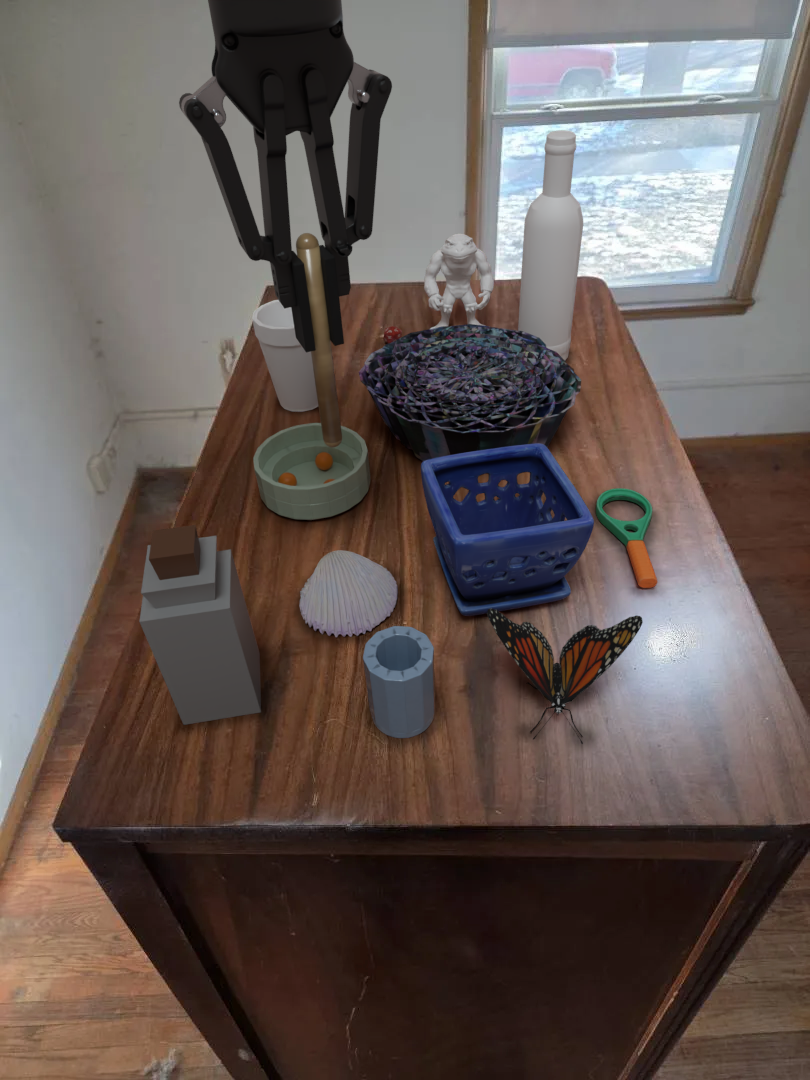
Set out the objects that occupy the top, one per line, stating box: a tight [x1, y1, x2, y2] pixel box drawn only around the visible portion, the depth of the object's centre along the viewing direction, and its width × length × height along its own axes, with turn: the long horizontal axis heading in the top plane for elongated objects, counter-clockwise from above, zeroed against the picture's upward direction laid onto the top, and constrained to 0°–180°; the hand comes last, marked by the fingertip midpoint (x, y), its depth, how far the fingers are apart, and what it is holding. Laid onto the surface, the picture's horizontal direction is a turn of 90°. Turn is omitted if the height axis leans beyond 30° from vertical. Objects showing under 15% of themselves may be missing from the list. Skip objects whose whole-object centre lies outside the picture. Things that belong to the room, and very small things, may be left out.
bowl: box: [252, 422, 371, 521], centre depth 87 cm, size 13×13×5 cm
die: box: [382, 325, 403, 344], centre depth 114 cm, size 3×3×3 cm
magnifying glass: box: [595, 487, 659, 589], centre depth 79 cm, size 15×6×2 cm, turn 179°
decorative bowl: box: [358, 324, 582, 462], centre depth 94 cm, size 26×28×10 cm
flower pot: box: [420, 443, 595, 617], centre depth 72 cm, size 13×13×12 cm
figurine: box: [423, 233, 495, 329], centre depth 113 cm, size 11×7×15 cm, turn 90°
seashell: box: [298, 549, 399, 638], centre depth 74 cm, size 10×6×10 cm
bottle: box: [517, 129, 584, 361], centre depth 101 cm, size 8×8×30 cm
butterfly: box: [486, 608, 644, 745], centre depth 61 cm, size 12×10×10 cm
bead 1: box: [278, 472, 297, 486], centre depth 87 cm, size 2×2×2 cm
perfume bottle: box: [138, 524, 262, 726], centre depth 61 cm, size 7×7×18 cm
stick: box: [295, 232, 342, 448], centre depth 56 cm, size 2×2×18 cm
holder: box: [362, 625, 436, 739], centre depth 62 cm, size 6×6×8 cm
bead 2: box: [315, 452, 333, 470], centre depth 90 cm, size 2×2×2 cm
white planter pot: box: [251, 299, 319, 413], centre depth 100 cm, size 10×9×13 cm
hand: (319, 340), depth 56 cm, fingers closed on stick, 1 cm apart
